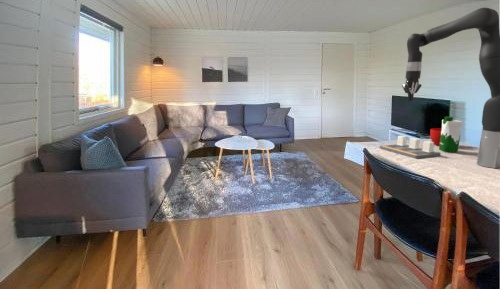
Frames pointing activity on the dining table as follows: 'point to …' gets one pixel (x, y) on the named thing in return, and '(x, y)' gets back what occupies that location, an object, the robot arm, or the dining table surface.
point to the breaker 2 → (428, 146)
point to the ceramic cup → (435, 135)
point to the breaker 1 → (401, 140)
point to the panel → (409, 151)
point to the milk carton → (450, 135)
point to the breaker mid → (414, 143)
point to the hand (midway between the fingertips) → (410, 100)
